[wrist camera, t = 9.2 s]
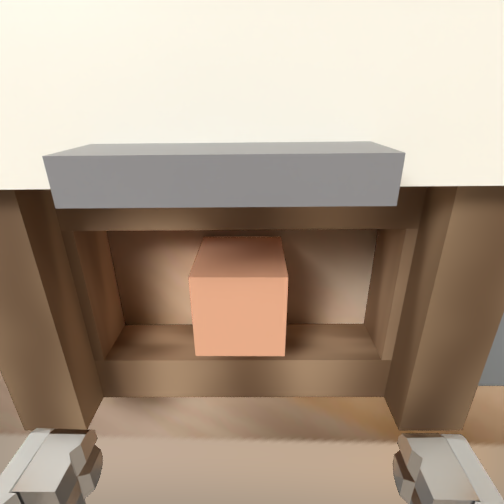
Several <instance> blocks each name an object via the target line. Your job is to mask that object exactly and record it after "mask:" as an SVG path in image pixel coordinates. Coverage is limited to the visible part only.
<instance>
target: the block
mask: <svg viewBox="0 0 504 504" xmlns="http://www.w3.org/2000/svg"><path fill="white" fill-rule="evenodd" d="M188 280H189V290H190V301H191V312H192V323H193V334H194V344H195V355H196V356H285V340H286V319H287V297H288V273H287V268H286V262H285V257H284V252H283V247H282V241H281V237H204V238H203V240H202V243H201V245H200V248H199V251H198V253H197V256H196V259H195V261H194V264H193V266H192V269H191V272H190V274H189V277H188Z"/></svg>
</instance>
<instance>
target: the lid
mask: <svg viewBox="0 0 504 504" xmlns="http://www.w3.org/2000/svg"><path fill="white" fill-rule="evenodd" d="M400 186H504V0H0V190H22V189H51V193H52V196H53V200H54V204H55V208H56V209H64V208H200V207H336V206H397V201H398V195H399V189H400Z"/></svg>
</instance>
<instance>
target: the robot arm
mask: <svg viewBox="0 0 504 504" xmlns="http://www.w3.org/2000/svg"><path fill="white" fill-rule="evenodd" d="M97 439H98V438H97V435H96V432H95V430H82V429H57V428H36V429H35V430H34V431H32V432H31V433H30V434H29V435H28V437H27V438H26V439H25V441H24V442H23V444H22V445H21V447H20V448H19V449H18V451H17V452H16V454H15V455H14V456H13V458H12V459H11V461H10V462H9V463H8V465H7V466H6V468H5V469H4V470H3V472H2V473H1V475H0V504H86V503H85V498H86V497H87V496H88V495H89V494H90V493H91V492H93V491H94V490H95V488H96V485H97V483H98V481H99V478H100V474H101V469H102V463H103V462H102V459H103V458H102V457H103V456H102V452H101V450H100V449H99V448H98V447H97V446H96V445H95V443H96V441H97ZM397 444H398V446H399V449H400V450H399V451H398V452H397V453H396V454H395V455H394V460H393V473H394V479H395V483H396V486H397V489H398V492H399V495H400V496H401V497H402V498H403V499H404V500H405V501H406V502H407V503H408V504H504V499H503V498H502V496H501V494H500V493H499V491H498V489H497V488H496V487H495V485H494V483H493V482H492V480H491V478H490V477H489V475H488V473H487V472H486V470H485V469H484V467H483V465H482V464H481V462H480V461H479V459H478V457H477V456H476V454H475V453H474V451H473V449H472V448H471V446H470V445H469V443H468V441H467V440H466V438H465V437H463V436H462V435H461V434H438V433H421V434H401V435H400V436H399V438H398V442H397Z"/></svg>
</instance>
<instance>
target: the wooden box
mask: <svg viewBox="0 0 504 504" xmlns="http://www.w3.org/2000/svg"><path fill="white" fill-rule="evenodd" d="M295 229H378V234H377V241H376V247H375V254H374V260H373V267H372V274H371V280H370V287H369V293H368V300H367V306H366V313H365V319H364V324H286V340H285V356H196V355H195V344H194V334H193V325H125V322H124V317H123V312H122V307H121V302H120V297H119V292H118V287H117V282H116V277H115V271H114V266H113V261H112V256H111V251H110V246H109V241H108V236H107V231H143V230H295ZM503 313H504V186H400V189H399V195H398V201H397V206H336V207H200V208H64V209H56V208H55V204H54V200H53V196H52V193H51V189H22V190H0V371H1V373H2V376H3V378H4V381H5V383H6V385H7V388H8V390H9V393H10V395H11V398H12V400H13V403H14V405H15V407H16V410H17V412H18V415H19V417H20V420H21V422H22V424H23V427H24V429H25V430H35V429H36V428H57V429H82V430H87V429H88V427H89V425H90V423H91V421H92V419H93V417H94V415H95V413H96V411H97V409H98V407H99V405H100V403H101V401H102V399H103V397H384V398H385V400H386V402H387V405H388V407H389V409H390V411H391V414H392V416H393V418H394V420H395V423H396V425H397V427H398V429H399V430H462V429H463V426H464V423H465V421H466V418H467V415H468V412H469V409H470V406H471V404H472V401H473V398H474V395H475V392H476V389H477V387H478V384H479V381H480V378H481V375H482V372H483V370H484V367H485V364H486V361H487V358H488V355H489V353H490V350H491V347H492V344H493V341H494V338H495V336H496V333H497V330H498V327H499V324H500V321H501V319H502V316H503Z"/></svg>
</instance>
